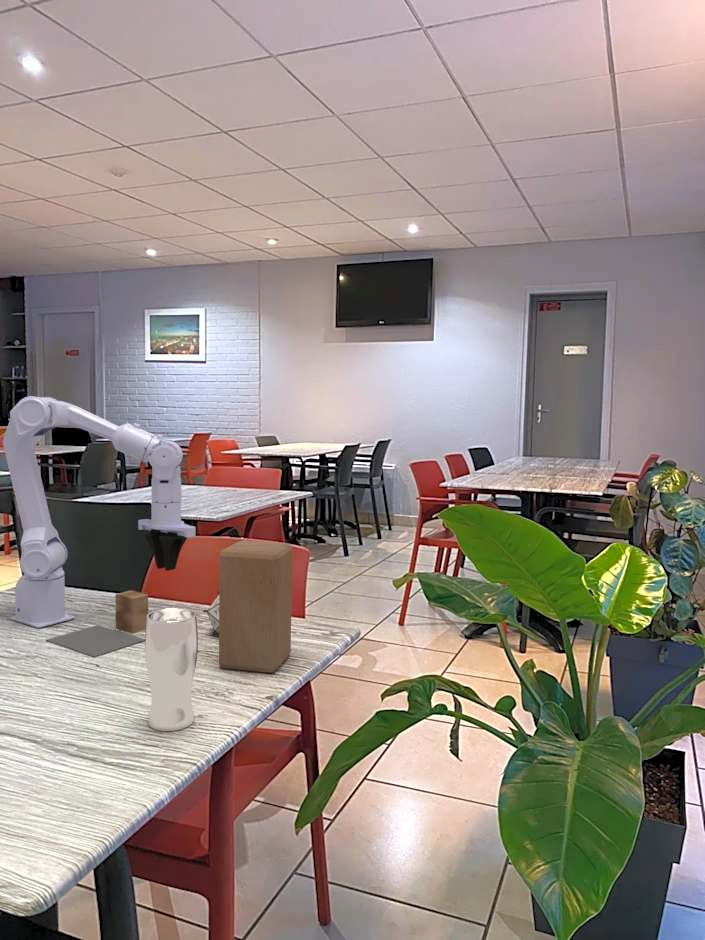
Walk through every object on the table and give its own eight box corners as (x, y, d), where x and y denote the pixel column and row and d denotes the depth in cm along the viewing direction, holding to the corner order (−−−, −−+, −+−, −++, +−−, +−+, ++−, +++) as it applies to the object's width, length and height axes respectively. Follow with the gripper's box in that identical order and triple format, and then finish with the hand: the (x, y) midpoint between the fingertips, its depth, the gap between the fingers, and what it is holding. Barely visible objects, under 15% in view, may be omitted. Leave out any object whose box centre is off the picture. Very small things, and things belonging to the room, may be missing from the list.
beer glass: (176, 706, 101) (177, 604, 99) (208, 720, 96) (208, 614, 95) (134, 722, 95) (134, 614, 94) (165, 738, 91) (165, 625, 90)
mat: (45, 640, 127) (45, 639, 127) (97, 626, 136) (97, 625, 136) (94, 657, 119) (94, 656, 119) (145, 640, 128) (145, 639, 128)
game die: (228, 656, 132) (219, 624, 125) (200, 631, 136) (190, 600, 130) (264, 626, 136) (256, 594, 130) (236, 603, 141) (227, 571, 134)
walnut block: (115, 629, 134) (115, 594, 134) (130, 625, 137) (130, 590, 136) (132, 635, 131) (132, 598, 131) (148, 630, 134) (148, 594, 134)
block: (274, 675, 113) (276, 553, 111) (216, 669, 115) (217, 549, 113) (292, 654, 123) (294, 542, 121) (238, 649, 125) (239, 538, 123)
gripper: (207, 502, 139) (206, 570, 140) (157, 496, 147) (157, 560, 148) (180, 506, 133) (179, 576, 134) (129, 499, 141) (130, 566, 142)
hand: (166, 568), depth 140 cm, fingers closed
